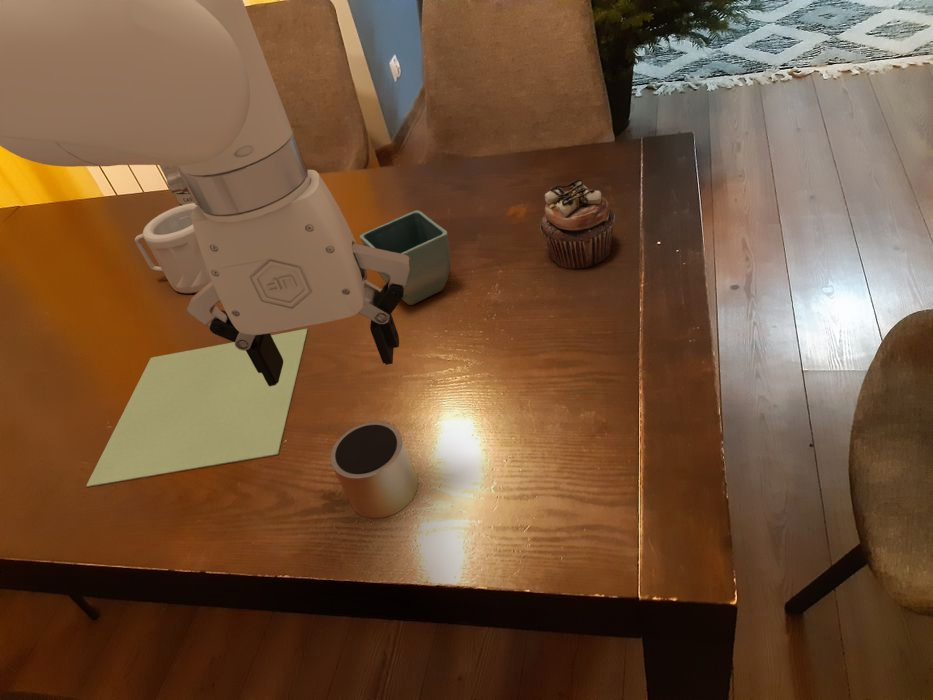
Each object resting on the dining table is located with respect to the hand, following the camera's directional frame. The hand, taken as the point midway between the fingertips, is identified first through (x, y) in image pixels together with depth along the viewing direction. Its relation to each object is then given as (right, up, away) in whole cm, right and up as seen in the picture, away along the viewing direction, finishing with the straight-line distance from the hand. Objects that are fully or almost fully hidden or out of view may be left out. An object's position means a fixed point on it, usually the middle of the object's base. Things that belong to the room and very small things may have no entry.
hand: (332, 363), depth 56 cm
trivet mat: (-20, -5, +26) cm, 33 cm away
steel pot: (+3, -12, +10) cm, 16 cm away
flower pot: (+5, +9, +35) cm, 37 cm away
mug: (-31, +13, +51) cm, 61 cm away
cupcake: (+26, +14, +35) cm, 46 cm away
